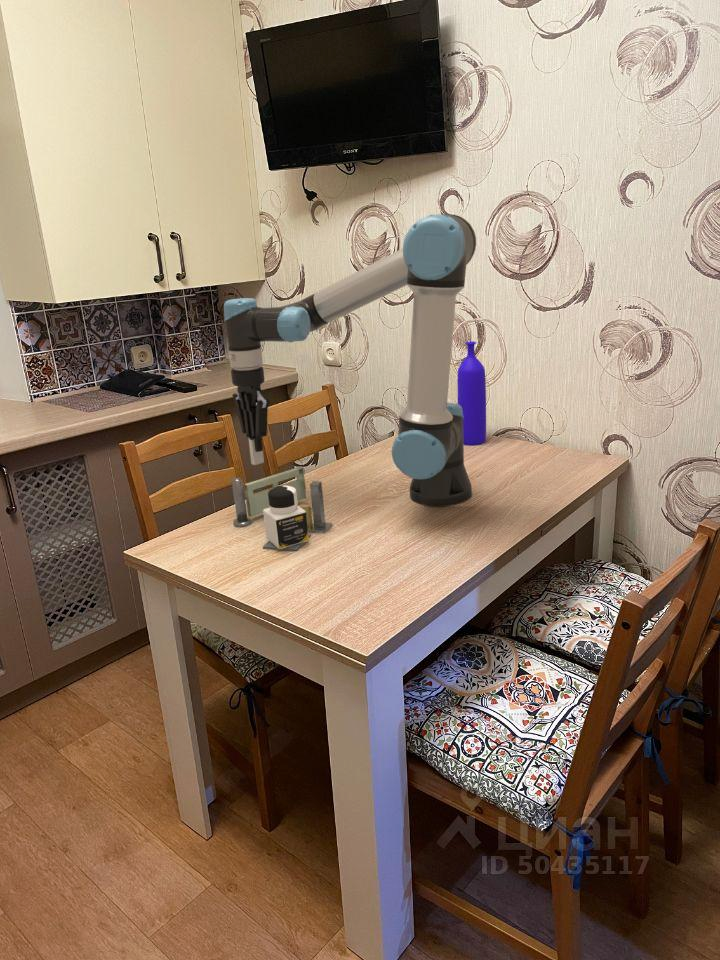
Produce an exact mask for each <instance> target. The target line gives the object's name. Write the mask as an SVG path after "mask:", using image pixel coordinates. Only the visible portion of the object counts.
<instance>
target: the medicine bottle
mask: <svg viewBox="0 0 720 960" xmlns="http://www.w3.org/2000/svg"><path fill="white" fill-rule="evenodd" d="M272 488H273V487H272ZM268 498H269V507H270V508H267V509H264V510H263V515H262V516H263V521H264V529H265V530H264V531H265V537H266V540H268V541H270V542H271V543H272V544H274V545H275V546H276V547H277V548H279V549H283V548H287V547H290V546H293V545H297V544H300V543H303V542H305V543H306V542H309V540H310V538H309V536H308V534H309V532H308V526H307V517H306V511H305V510H303V509H302V508H300V507H299V506H300V505H299V504H298V503H299V501H297V492H296V489H295V488H294V487H291V486H279V485H278V487H275V488H273V489H271V490H270V491H269V492H268Z"/></svg>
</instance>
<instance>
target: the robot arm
mask: <svg viewBox="0 0 720 960" xmlns="http://www.w3.org/2000/svg"><path fill="white" fill-rule="evenodd" d="M402 244H403V245H402V248H401V249H398V250H396V251H395V252H393V253H391V254H388V255H387V256H385V257H382V258H381V259H379V260H377V261H375V262H373V263H371V264H369V265H368V266H366V267H363V268H362V269H359V270H357V271H356V272H354V273H352V274H350V275H348V276H347V277H344V278H342V279H340V280H338V281H336V282H335V283H332V284H329V286H326V287H325V288H323V289H321V290H319V291H317V292H315V293H313V294H311V295H309V296H307V297H305V298H302V299H301V300H298V301H296V302H293V303H289V304H285V305H282V306H275V307H274V306H273V307H261V306H260V307H258V304H257V301H256V299H255V298H253V297H251V298H249V297H242V298H240V297H239V298H232V299H229V300H226V301H225V302H224V304H223V316H224V317H223V318H224V319H223V322H224V324H225V332H226V339H227V347H228V354H229V355H228V359H229V363H230V364H229V365H230V367H231V368H232V369H231V371H230V375H231V383H232V385H233V386H234V387H237V392H235V393H233V394H232V399H233V400H234V404H235V407H236V412H237V416H238V421H239V424H240V428H241V433H243V434H245V436H246V437H247V438H248V447H249V456H250V464H251V465H253V466H256V465H261V464H263V463H265V459H264V449H263V440H262V439H263V438H264V437H267V435H268V412H269V411H268V409H269V406H270V399H269V398H264V397H263V391H262V388H261V385H262V384H263V383H265V372H264V367H263V366H262V365H263V364H264V360H263V352H262V345H261V343H262V342H286V343H287V342H288V343H293V342H303V341H305V340H307V338H308V336H309V335H310V333H311V332H314V331H317V330H319V329H321V327H323V326H325V325H327V324H329V323H331V322H333V321H335V320H337V319H340V318H342V317H344V316H346V315H348V314H349V313H351V312H354V311H356V310H358V309H360V308H362V307H364V306H366V305H368V304H370V303H373V302H374V301H377V300H379V299H381V298H383V297H385V296H387V295H389V294H391V293H393V292H396V291H397V290H400V289H402V288H404V287H405V286H407V287H408V288H409V289H410V290H411V292H412V293H413V301H412V317H411V334H410V335H411V337H410V350H409V352H410V353H409V365H408V366H409V368H408V369H409V370H408V381H407V382H408V384H407V385H408V386H407V398H406V399H407V400H406V406H405V408H403V409H402V410H401V411H400V412H399V417H398V433H397V436H396V437H395V439H394V441H393V444H392V446H391V457H392V460H393V463H394V465H395V466H396V468H397V469H398V470H399V471H400V472H401V473H402V474H403V475H405V476H406V477H409V478H411V482H410V486H409V498H410V499H411V501H413V502H414V503H416V504H419V505H423V506H427V507H428V506H429V507H448V506H454V505H458V504H461V503H464V502H466V501H468V500H469V499H471V497H472V495H473V492H472V491H473V488H472V483H471V480H470V477H469V474H468V472H467V470H466V467H465V461H464V459H465V457H464V455H465V454H464V453H465V452H464V451H465V450H464V447H465V446H464V444H463V418H464V416H463V411H462V407H461V406H460V405H459V404H458V403H454V402H448V398H449V397H448V396H449V384H450V373H451V372H450V371H451V359H452V351H453V350H452V347H453V335H454V326H455V325H454V323H455V322H454V321H455V313H456V302H457V301H456V298H457V296H458V295H459V293H460V292H461V291H463V289H464V288H465V282H466V273H467V271H466V270H467V265H468V264H470V262H471V260H472V259H473V257H474V255H475V252H476V247H477V237H476V232H475V230H474V229H473V227H472V225H471V223H470V222H469V221H468V220H466V219H465V218H464V217H462V216H459V215H458V214H457V215H456V214H449V213H448V214H447V213H446V214H441V213H438V214H430V215H427V216H425V217H422V218H421V219H419V220H418V221H416V222H415V223H414V224H413V225H412V226H411V227H410V228H409V229H408V231H407V233H406V234H405V237H404V239H403V243H402Z"/></svg>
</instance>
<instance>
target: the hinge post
mask: <svg viewBox="0 0 720 960" xmlns="http://www.w3.org/2000/svg"><path fill="white" fill-rule="evenodd" d="M243 481H244V480H243V478H242V477H240V476H239V477H233V478H232V479H231V485H232V491H233V492H232V493H233V499H234V507H235V514H236V519H234V520H233V522H232V523H233V526H234V527H235V528H236V527H238V528H243V527H248V526H251V525H252V524H253V519H252V517H249V516H248V511H247V503H246V496H245V489H244V482H243Z"/></svg>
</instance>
